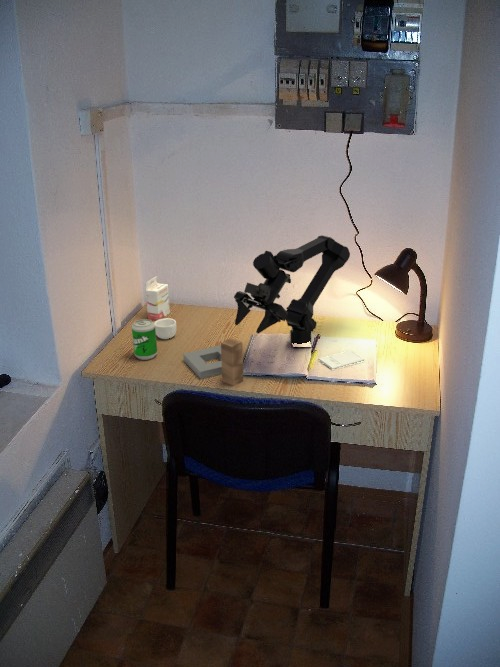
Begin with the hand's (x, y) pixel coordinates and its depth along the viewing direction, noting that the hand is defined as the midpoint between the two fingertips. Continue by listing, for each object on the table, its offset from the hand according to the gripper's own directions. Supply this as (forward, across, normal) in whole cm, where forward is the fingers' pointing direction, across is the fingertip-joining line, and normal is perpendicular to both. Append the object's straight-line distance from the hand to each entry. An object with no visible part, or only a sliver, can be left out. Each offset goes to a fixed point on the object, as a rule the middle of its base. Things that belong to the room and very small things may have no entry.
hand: (246, 328), depth 200 cm
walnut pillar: (+15, +2, +5) cm, 16 cm away
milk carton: (+3, -56, +16) cm, 58 cm away
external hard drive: (-8, +18, +28) cm, 34 cm away
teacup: (+10, -40, +10) cm, 42 cm away
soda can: (+21, -32, 0) cm, 38 cm away
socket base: (+13, -11, +7) cm, 18 cm away
